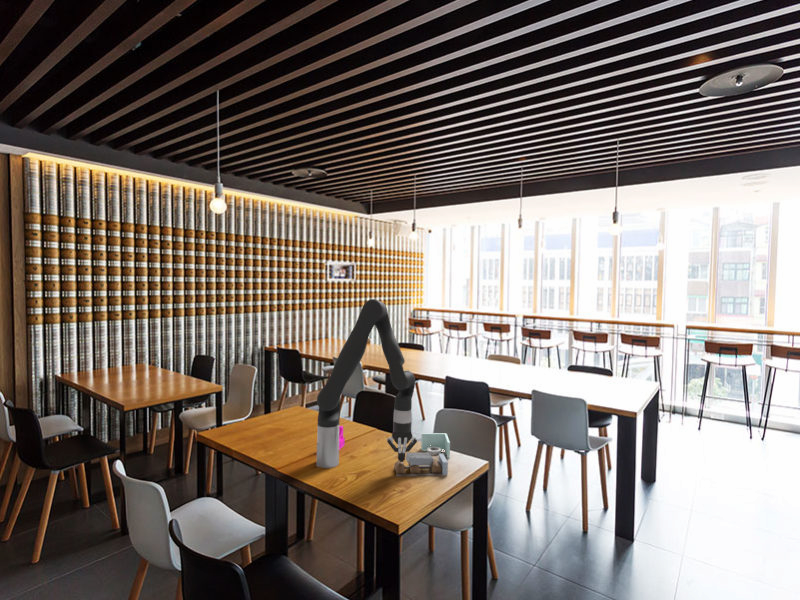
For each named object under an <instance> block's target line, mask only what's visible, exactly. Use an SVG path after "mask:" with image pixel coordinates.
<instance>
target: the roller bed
mask: <svg viewBox="0 0 800 600" xmlns="http://www.w3.org/2000/svg"><path fill="white" fill-rule="evenodd" d="M438 461H439V460H437V459H434V460H433V466H427V465H409V464H408V465H406V466H405V463H404V461H403V462H400V461H399V460H397V461H396V462H394V470H395V476H396V477H424V476H425V477H429V476H432V477H434V476H438V475H442V476H443V474H442V468H441V466H440V464H439V462H438ZM406 469H409V471H410V473H409V474H406V472H407V470H406ZM421 469H429V472H430V473H422V472H421ZM438 477H439V476H438Z"/></svg>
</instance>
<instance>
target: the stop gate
mask: <svg viewBox="0 0 800 600" xmlns="http://www.w3.org/2000/svg"><path fill="white" fill-rule="evenodd" d="M437 461H438V462H439V464H440V466H441V468H442V474H443V475H448V471H449V470H448V469H449V462H448V460H447V457H446V456H445V453H440V454H439V455H438V460H437ZM443 475H442V476H443ZM448 476H449V475H448Z"/></svg>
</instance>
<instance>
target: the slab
mask: <svg viewBox="0 0 800 600" xmlns="http://www.w3.org/2000/svg"><path fill="white" fill-rule="evenodd" d="M433 460H435V459H434V457H433V455H431V454H430V453H427V452H410V451H409V452H406V453H405V461H406V462H407V464H408V466H409V465H419V466H433Z"/></svg>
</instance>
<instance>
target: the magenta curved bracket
mask: <svg viewBox="0 0 800 600" xmlns="http://www.w3.org/2000/svg"><path fill="white" fill-rule="evenodd" d="M345 445H346V444H345V437H344V426H343V425H339V451H340V450H341V449H342V448H343V447H344V446H345Z"/></svg>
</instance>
